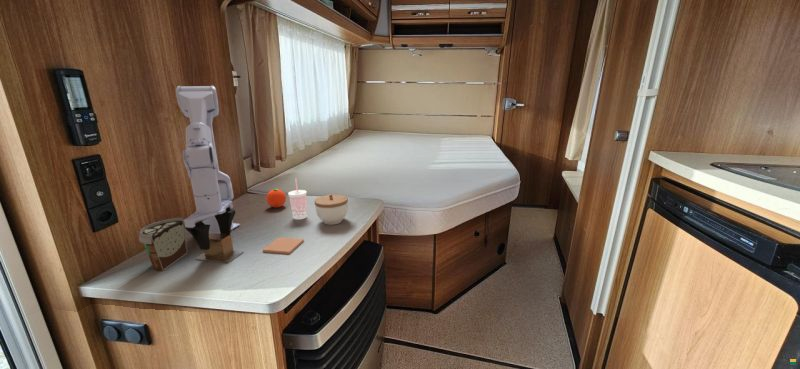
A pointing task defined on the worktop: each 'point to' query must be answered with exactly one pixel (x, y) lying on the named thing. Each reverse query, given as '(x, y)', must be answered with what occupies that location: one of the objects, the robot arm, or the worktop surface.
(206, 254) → the tan block on plate
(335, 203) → the lidded jar
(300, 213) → the beverage cup
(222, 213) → the robot arm
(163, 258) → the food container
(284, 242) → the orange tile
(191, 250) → the worktop surface
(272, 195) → the clementine
